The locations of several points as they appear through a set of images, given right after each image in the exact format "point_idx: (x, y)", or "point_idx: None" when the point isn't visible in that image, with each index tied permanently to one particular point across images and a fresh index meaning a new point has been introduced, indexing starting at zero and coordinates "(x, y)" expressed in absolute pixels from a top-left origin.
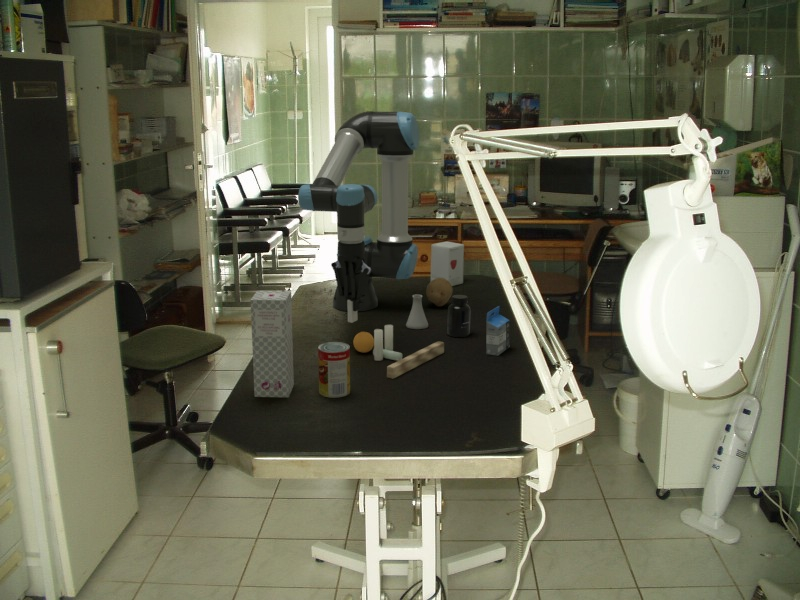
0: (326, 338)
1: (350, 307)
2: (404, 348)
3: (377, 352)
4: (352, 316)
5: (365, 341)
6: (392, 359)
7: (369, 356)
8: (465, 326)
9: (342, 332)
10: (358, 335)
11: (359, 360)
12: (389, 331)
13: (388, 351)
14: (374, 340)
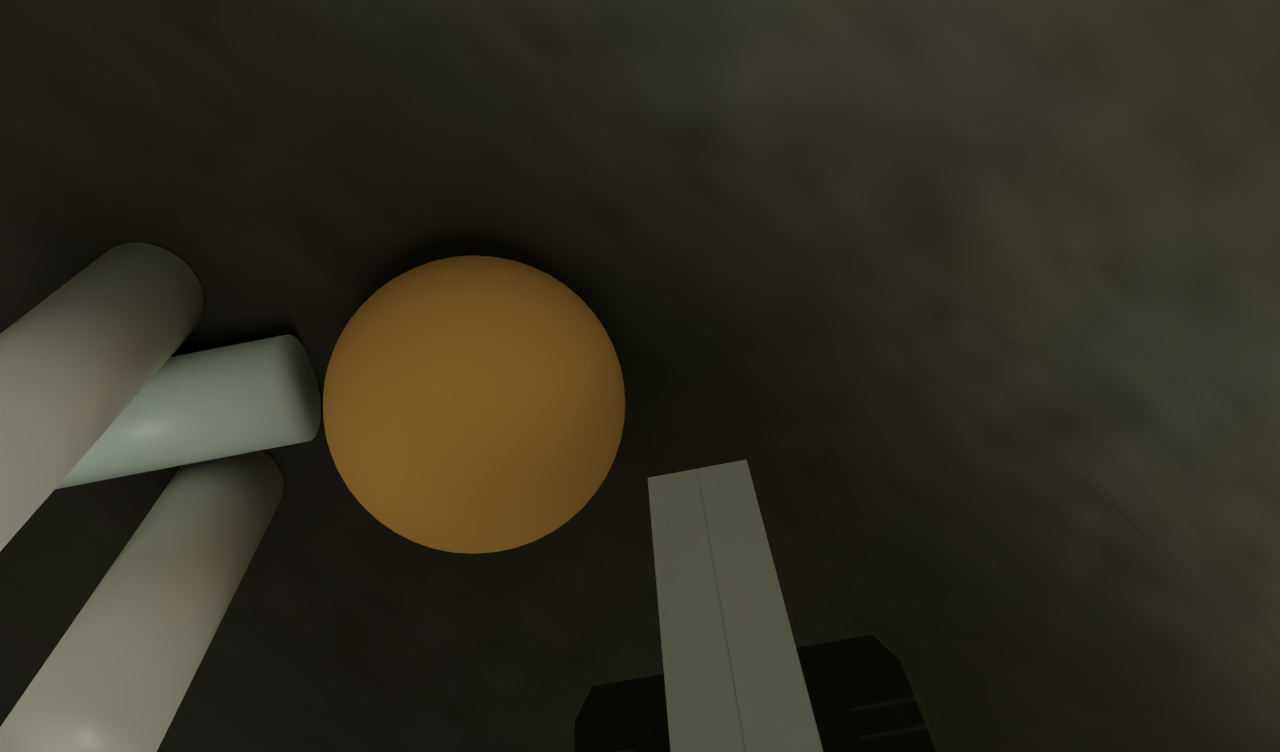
0: (1208, 354)
1: (700, 692)
2: (307, 694)
3: (54, 292)
4: (659, 570)
5: (340, 363)
6: None
7: (316, 288)
8: None
9: (1175, 594)
10: (471, 376)
11: (259, 90)
12: (36, 675)
13: None
14: (25, 361)
